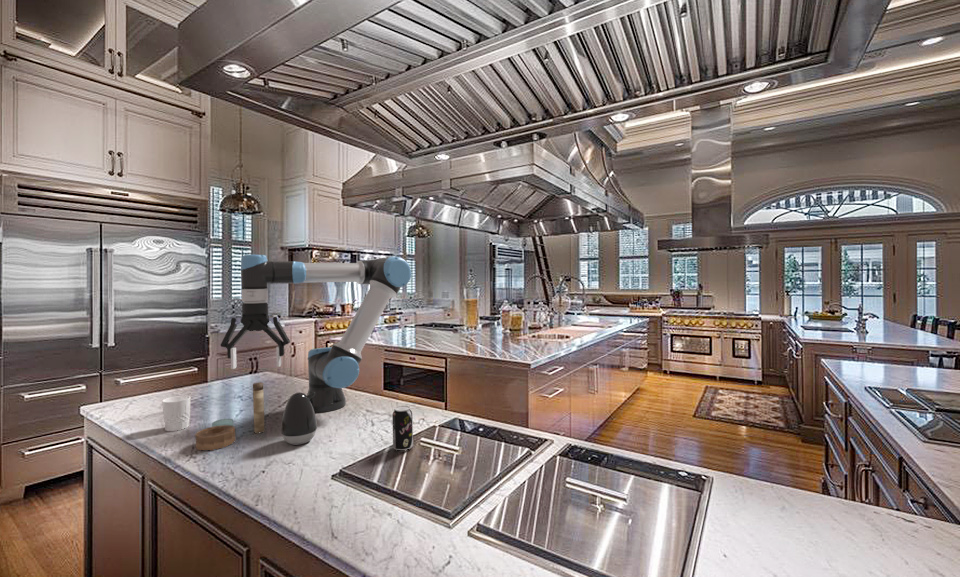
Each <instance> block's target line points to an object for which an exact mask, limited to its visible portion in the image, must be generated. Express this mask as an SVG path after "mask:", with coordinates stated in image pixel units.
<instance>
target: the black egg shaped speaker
mask: <svg viewBox="0 0 960 577" xmlns="http://www.w3.org/2000/svg"><path fill="white" fill-rule="evenodd" d="M314 395H315V392H312V393H310V394H309V395H307V394H305V393H304V392H299V391H298V392H295V393H293V394H292V395H291V396H290V397H289V399H288V400H287V402H286V405H285V408H284V410H283V414H282V419H281V426H280V433H281V435H282V437H283V439H284V441H285V442H286V443H287V444H290V445H294V446H298V445H305V444H306V443H309V442H310V441H311V440H312V439H313V438H314V436H315V434H316V430H317V429H318V423H317V416H316V412H314V409H313V406H312V404H311V402H310V400H309V399H310V398H311V397H313V396H314Z"/></svg>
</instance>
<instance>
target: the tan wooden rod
mask: <svg viewBox="0 0 960 577" xmlns="http://www.w3.org/2000/svg"><path fill="white" fill-rule="evenodd" d="M252 397H253V400H252V403H253V407H252V408H253V430H254V431H253V433H254V432H255V433H259V432H263V431H264V432H266V431H265V429H266V428H265V405H264V404H265V401H264V382H254V383H253V384H252ZM264 432H263V433H264ZM255 433H254V434H255ZM259 434H260V433H259Z"/></svg>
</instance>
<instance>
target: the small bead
mask: <svg viewBox="0 0 960 577" xmlns="http://www.w3.org/2000/svg"><path fill="white" fill-rule="evenodd" d="M222 425H229V426H234V419H233V418H224V419H223V418H222V419H218V420H215V421H213V422H211V427H214V426H222Z"/></svg>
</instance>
